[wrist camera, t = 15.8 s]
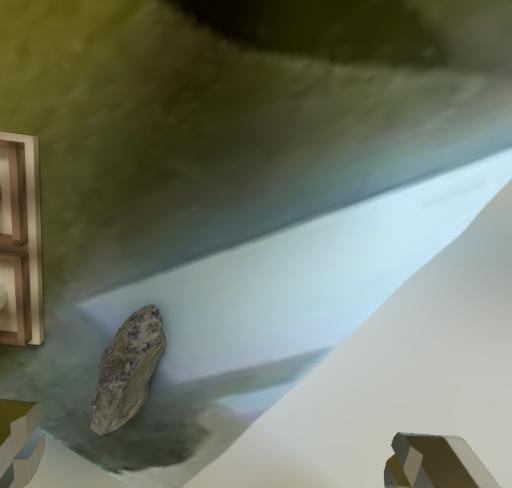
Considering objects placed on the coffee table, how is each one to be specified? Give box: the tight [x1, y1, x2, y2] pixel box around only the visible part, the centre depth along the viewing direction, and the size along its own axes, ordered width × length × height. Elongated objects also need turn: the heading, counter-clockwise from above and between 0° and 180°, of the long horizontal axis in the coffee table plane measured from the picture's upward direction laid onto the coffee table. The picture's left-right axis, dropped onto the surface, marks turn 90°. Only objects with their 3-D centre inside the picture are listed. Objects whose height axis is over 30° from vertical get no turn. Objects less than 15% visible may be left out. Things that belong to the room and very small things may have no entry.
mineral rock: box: [91, 305, 167, 435], centre depth 41 cm, size 13×11×10 cm
